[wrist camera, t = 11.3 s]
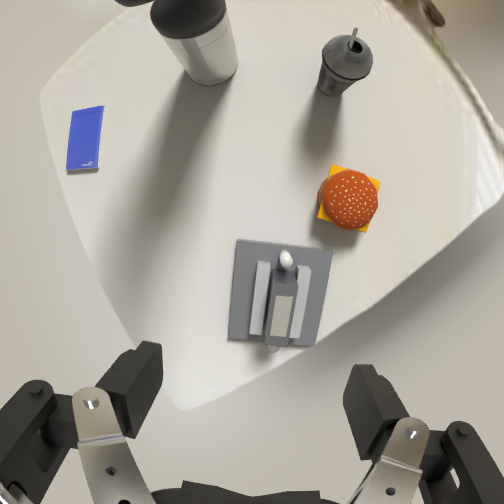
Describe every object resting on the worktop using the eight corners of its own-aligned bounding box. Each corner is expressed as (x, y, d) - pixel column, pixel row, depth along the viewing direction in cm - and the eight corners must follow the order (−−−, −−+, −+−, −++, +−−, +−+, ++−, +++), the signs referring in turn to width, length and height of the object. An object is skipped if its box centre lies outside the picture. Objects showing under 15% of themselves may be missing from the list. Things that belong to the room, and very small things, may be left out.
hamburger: (322, 165, 45) (331, 160, 39) (373, 181, 45) (389, 179, 39) (309, 219, 47) (317, 223, 41) (361, 232, 47) (375, 238, 41)
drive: (272, 268, 47) (273, 283, 40) (293, 270, 47) (298, 285, 39) (264, 322, 50) (264, 345, 42) (284, 324, 49) (287, 347, 42)
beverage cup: (352, 105, 43) (400, 60, 23) (311, 103, 43) (340, 51, 23) (347, 69, 41) (387, 13, 22) (308, 67, 42) (330, 4, 22)
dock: (237, 238, 48) (234, 245, 42) (330, 249, 48) (339, 257, 42) (228, 334, 52) (224, 350, 46) (313, 342, 52) (318, 358, 46)
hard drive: (96, 167, 46) (103, 105, 43) (65, 170, 46) (71, 111, 43) (100, 168, 47) (107, 107, 45) (69, 170, 47) (75, 112, 45)
